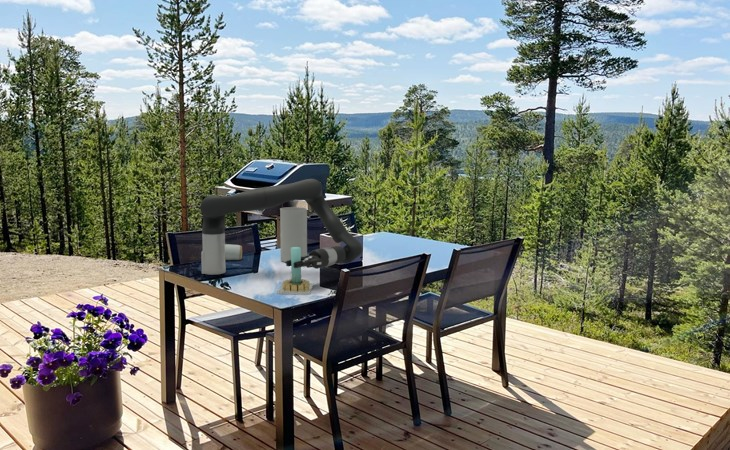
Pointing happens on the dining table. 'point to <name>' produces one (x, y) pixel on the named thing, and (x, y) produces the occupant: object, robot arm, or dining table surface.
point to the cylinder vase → (293, 231)
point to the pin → (295, 271)
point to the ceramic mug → (233, 252)
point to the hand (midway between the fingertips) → (290, 264)
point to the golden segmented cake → (295, 287)
